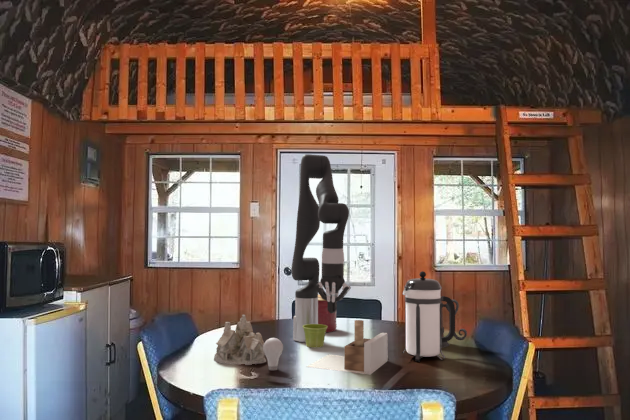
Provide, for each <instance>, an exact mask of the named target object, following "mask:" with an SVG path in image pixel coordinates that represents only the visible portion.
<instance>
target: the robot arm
mask: <svg viewBox="0 0 630 420" xmlns="http://www.w3.org/2000/svg"><path fill="white" fill-rule="evenodd" d="M299 172H300V173H299V175H300V176H299V198H298V207H297V215H296V216H297V217H296V230H295V231H296V232H295V243H294V250H293V254H292V255H293V257H292V263H291V276H292V279H293V280H294V281H302V282H303V281H308V282H307V284H306V285H304V286H303V287H300V288H298V289H296V290H295V292H294V293H295V298H294V299H295V301H294V302H295V303H294V304H295V307H294V308H295V311H294V312H295V313H294V316H292V318H293V319H292V320H293V321H292V322H293V323H292V331H293V332H292V341H296V342H300V343H306V340H305V332H304V328H303V325H307V324H318V295H320V296H321V297H322V299H323V300H326V301H327V302H328V309H327V310H328V311H329V313H335V311H337V310H338V302H339V301H342V300H343V299H344V297H345V296H347V294H348V292H350V290H351V288H352V287H351V285H348V284H347V283H346V281H345V278H344V277H345V275H344V274H345V273H344V272H345V266H344V265H345V254H344V237H345V231H346V227H347V223H348V220H349V216H350V209H349V207H348V205H346V204H345V203H341V202H340V203H339V201H340V200H339V196H338V194H337V193H338V192H337V191H336V188H335V185H334V180H333V173H332V172H333V171H332V167H331V162H330V159H329V158H328V156H326V155H323V154H322V155H321V154H311V153H310V154H309V153H308V154H303V155H302V157H301V159H300V171H299ZM310 179H319V180H320V179H321V180H320V181H319V183H318V184H317V186H316V187H315V193H316V194H315V195H316V199H317V200H316V199H315V196H314V195H313V193H312V190H311V187H310ZM317 201H318V202H317ZM320 224H329V225H330V224H333V225H336V227H335V228H334V229H330V230H327V231H324V232H323V234H322V253H321V278H320V261H319V259H318V258H316V257H304V255H305V251H306V249H307V247H308V246H309V244H310V242H312V240H313V239H314V237H315V236H316V234H317V233H318V231H319V229H320V226H321V225H320ZM341 289H342V291H341V292H340V290H341Z"/></svg>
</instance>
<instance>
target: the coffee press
mask: <svg viewBox="0 0 630 420" xmlns="http://www.w3.org/2000/svg"><path fill="white" fill-rule="evenodd" d="M426 276H427V273H426V272H425V271H423V270H422V271H420V272H419V277H418V278H410V279H408V280H407V281H406V282H405V285H404V289H403V291H402V295H403V296H404V303H405V304H404V305H405V306H404V310H405V311H404V312H405V314H404V315H405V317H404V318H405V321H404V322H405V324H404V325H405V329H404V330H405V332H404V333H405V336H404V338H405V339H404V340H405V344H404V345H405V348H404V349H403V351H402V352H401V354H404V353H405V351H406V352H407V354H409V355H411V356H414V357H415V359H414V361H415V362H417V363H420V362H421V360H422V358H423V357H425V358H429V357H437V358H438V359H439V360H441V361H444V360H445V359H446V356H445V354H444V353H443V350H442V349H443V348H441V342H450V341H451V340H452V339H453V338H454V333H456V315H455V309H456V307H455V303H454V302H453V301H452V300H453V299H452V298H450V297H449V296H444V295H442V296H440V295H441V293H442V292H441V291H442V285H441V284H440V282H439V281H438V280H437V279H433V278H426ZM441 301H442V302H446V304H447V303H448V305H449V311H448V312H449V314H448V315H449V319H448V320H449V323H448V324H449V326H448V327H449V330H448V333H447V335H446V336H445V335H444V337H441ZM440 354H441V356H442V357H443V358H442V357H441V356H440Z"/></svg>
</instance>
